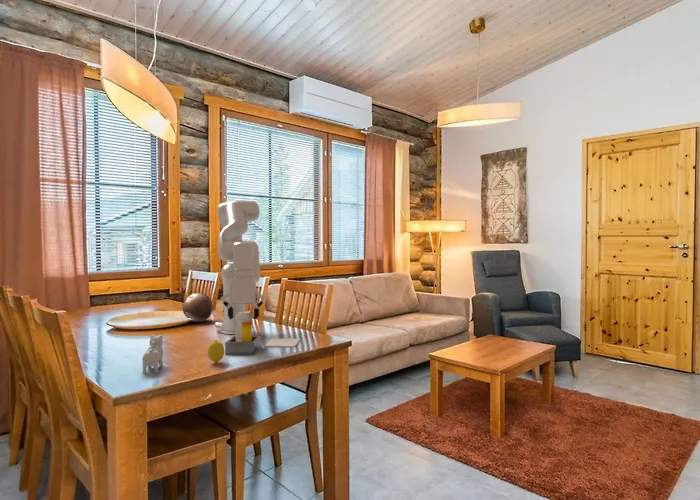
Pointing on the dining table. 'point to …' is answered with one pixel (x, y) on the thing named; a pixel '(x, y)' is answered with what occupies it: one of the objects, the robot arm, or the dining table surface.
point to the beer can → (243, 326)
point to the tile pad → (282, 343)
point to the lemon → (215, 351)
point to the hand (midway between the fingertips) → (243, 318)
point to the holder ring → (243, 346)
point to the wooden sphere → (198, 307)
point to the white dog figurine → (153, 354)
